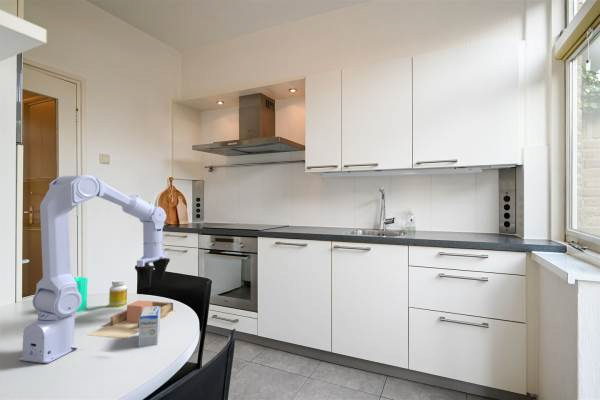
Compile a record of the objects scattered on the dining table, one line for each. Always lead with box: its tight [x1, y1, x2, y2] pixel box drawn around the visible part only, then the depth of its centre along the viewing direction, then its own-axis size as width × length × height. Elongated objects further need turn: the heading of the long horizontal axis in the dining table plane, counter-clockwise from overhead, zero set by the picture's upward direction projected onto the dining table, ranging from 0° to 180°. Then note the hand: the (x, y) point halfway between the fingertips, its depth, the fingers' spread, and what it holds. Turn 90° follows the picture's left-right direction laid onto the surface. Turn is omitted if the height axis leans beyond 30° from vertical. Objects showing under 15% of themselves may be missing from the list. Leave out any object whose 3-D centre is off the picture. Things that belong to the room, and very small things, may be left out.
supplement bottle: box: [108, 278, 128, 308], centre depth 109 cm, size 5×5×10 cm
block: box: [126, 299, 152, 323], centre depth 96 cm, size 5×5×5 cm
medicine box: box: [138, 306, 161, 348], centre depth 82 cm, size 8×4×9 cm, turn 21°
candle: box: [73, 274, 88, 313], centre depth 107 cm, size 6×6×12 cm
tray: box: [87, 300, 175, 340], centre depth 94 cm, size 23×12×4 cm, turn 170°
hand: (153, 283), depth 102 cm, fingers open, 7 cm apart
